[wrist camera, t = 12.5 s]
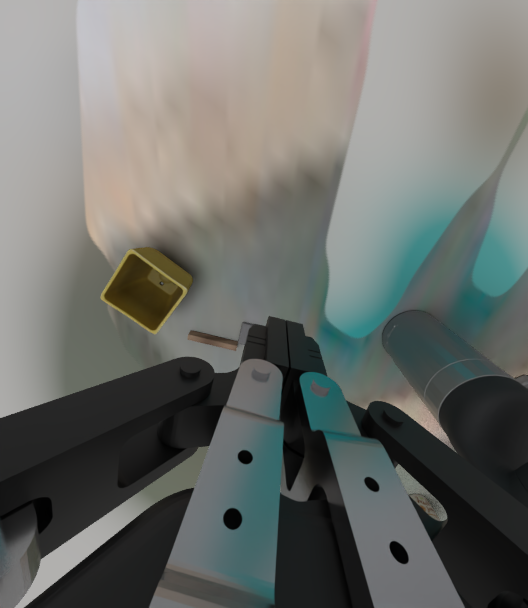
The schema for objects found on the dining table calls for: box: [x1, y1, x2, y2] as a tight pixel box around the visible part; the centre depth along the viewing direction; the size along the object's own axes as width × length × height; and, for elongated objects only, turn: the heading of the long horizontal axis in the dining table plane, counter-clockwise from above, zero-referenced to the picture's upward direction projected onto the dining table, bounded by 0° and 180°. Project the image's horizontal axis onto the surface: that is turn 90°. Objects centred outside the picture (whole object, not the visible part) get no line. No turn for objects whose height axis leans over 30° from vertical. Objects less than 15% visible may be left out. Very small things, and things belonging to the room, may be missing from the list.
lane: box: [188, 331, 238, 351], centre depth 47 cm, size 22×10×5 cm, turn 76°
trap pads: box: [238, 322, 254, 345], centre depth 49 cm, size 5×20×1 cm, turn 147°
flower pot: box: [101, 247, 193, 334], centre depth 39 cm, size 9×9×9 cm
